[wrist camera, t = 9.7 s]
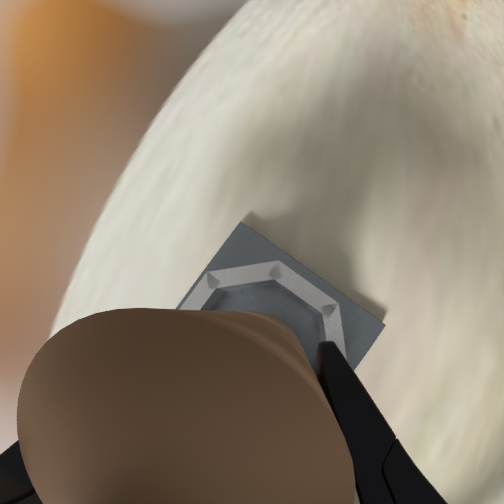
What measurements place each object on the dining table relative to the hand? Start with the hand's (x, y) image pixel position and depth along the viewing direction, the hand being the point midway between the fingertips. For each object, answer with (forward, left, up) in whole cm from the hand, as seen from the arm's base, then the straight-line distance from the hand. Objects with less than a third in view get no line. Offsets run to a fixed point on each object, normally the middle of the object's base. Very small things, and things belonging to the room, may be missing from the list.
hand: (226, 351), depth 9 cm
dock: (-1, +1, -13) cm, 13 cm away
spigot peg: (-1, +1, -7) cm, 7 cm away
